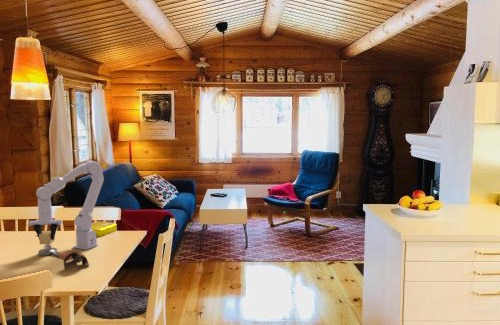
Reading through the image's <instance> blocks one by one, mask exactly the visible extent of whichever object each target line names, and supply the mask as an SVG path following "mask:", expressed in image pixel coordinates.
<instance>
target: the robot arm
mask: <svg viewBox="0 0 500 325" xmlns="http://www.w3.org/2000/svg"><path fill="white" fill-rule="evenodd" d="M84 174H85V175H87V174H88V175H89V176H90V178H91V180H92V181H91V183H90V186H89V188H88V192H87V194H86V198H85V200H84V203H83V206H82V208H81V210H80V211H79V212H78V214H77V216H76V217H75V218H74V225H75V226H76V228H75V238H76V241H75V242H76V245H73V246H72V248H73V249H74V248H75V249H81V250H90V249H92V248H94V247H97V246H99V244H98V242H97V237H96V232H95V231H93V230H92V229H91V226H92V223H93V222H92V221H93V212H94V208H95V205H96V203H97V200H98V198H99V194H100V192H101V189H102V186H103V184H104V181H105V177H104V174H103V167H102V165H101V164H100V163H99V162H98V161H94V160H92V159H87V160H85V161H84V162H81V163H80V164H78V165H77V166H76V167H75V168H73V169H72V170H70V171H69V172H67V173H66V174H64V175H63V176H62V177H60V176H57V177H53V178H52V180H50V182H48V183H47V184H46V183H44V184H43V186H41V187H38V188H37V189H36V192H35V195H36V197H37V211H38V220H29V221H28V226H29V227H31V226H32V227H33V230H34V232H35V233H36V235H37V237H38V239H39V234H40V233H41V232H43V226H49V231H51V239H52V240H53V239H54V240H56V239H55V237H56V232H57V229H58V227H59V226H60V225H62V224H63V219H53V212H52V211H53V210H52V199H51V198H52V196H53V195H54V194H56V193H57V192H59V191H61V190H62V189H64V188H65V187H66V184H67V183H69V182H70V181H71V180H74V179H75V178H76V177H78V176H79V175H84Z"/></svg>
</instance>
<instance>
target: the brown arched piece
mask: <svg viewBox="0 0 500 325" xmlns="http://www.w3.org/2000/svg"><path fill="white" fill-rule="evenodd" d="M68 253H69V254H68V255H67V256H66V257H65V258H63V262H62V263H63V268H64V269H65V270H67V269H70V268H73V267H78V264H79V263H81V264H82V265H86V266H87V268H90V267H89V266H90V264H89V260H88V259H87V257H86V255H85V254H83V253H81V252H80V251H79V250H75V251H71V252H68ZM71 256H72V258H73V259H71V261H68V260H70V259H69V258H70V257H71ZM67 261H68V262H67Z"/></svg>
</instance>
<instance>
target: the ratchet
mask: <svg viewBox="0 0 500 325" xmlns="http://www.w3.org/2000/svg"><path fill="white" fill-rule="evenodd" d="M69 253H70V252H68V251H63V252H62V251H61V252H60V251H58V249H57V247H52V245H51V244H44V245H43V248H42V249H39V250H38V256H39V257H49V256H53V257H56V258H61V259H64V258H65V257H66V256H67V255H68V254H69ZM70 259H71V260H73V258H72V256H71V257H70V258H69V259H68V260H70Z"/></svg>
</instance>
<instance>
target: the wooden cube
mask: <svg viewBox="0 0 500 325" xmlns="http://www.w3.org/2000/svg"><path fill="white" fill-rule="evenodd" d="M38 240H39V245H45V244H49V245H51V244H53V243H54V242H55V240H56V239H53V240H52V239H51V230H42V232H41V233H40V234H39V238H38Z"/></svg>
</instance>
